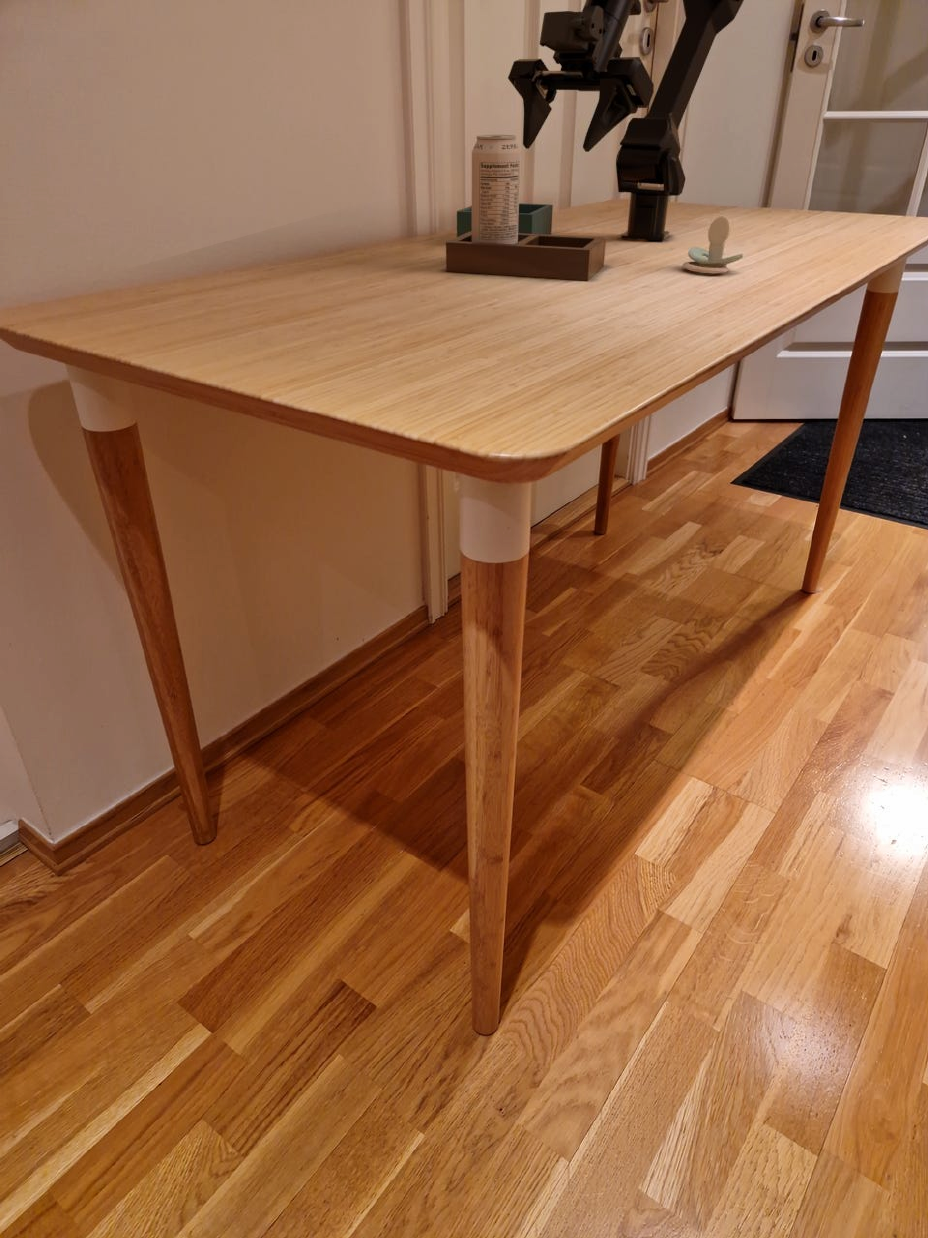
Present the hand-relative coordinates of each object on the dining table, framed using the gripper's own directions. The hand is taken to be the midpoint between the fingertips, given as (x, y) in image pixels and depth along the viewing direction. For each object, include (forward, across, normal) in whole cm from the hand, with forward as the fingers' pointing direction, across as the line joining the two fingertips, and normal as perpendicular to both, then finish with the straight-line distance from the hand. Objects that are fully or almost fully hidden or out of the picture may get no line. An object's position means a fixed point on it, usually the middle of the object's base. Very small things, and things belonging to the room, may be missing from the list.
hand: (554, 148), depth 106 cm
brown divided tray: (+14, 0, +3) cm, 15 cm away
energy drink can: (+16, -4, +1) cm, 16 cm away
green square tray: (+5, -16, +16) cm, 23 cm away
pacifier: (+7, +20, +14) cm, 25 cm away
